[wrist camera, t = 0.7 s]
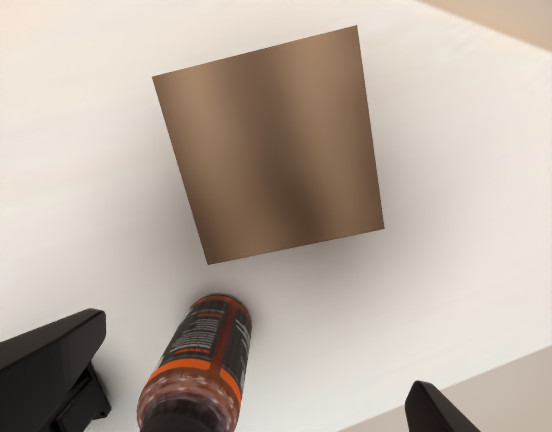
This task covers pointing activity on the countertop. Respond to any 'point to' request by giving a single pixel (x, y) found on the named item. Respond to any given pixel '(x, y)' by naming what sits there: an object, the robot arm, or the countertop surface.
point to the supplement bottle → (200, 371)
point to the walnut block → (275, 146)
